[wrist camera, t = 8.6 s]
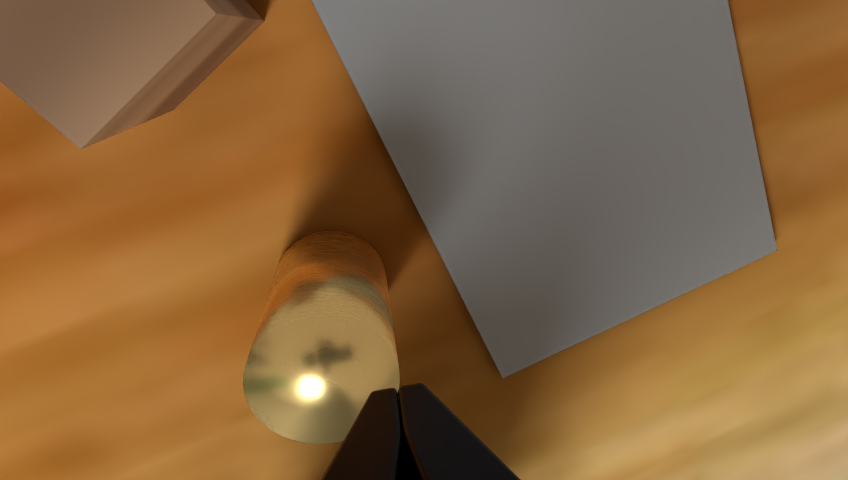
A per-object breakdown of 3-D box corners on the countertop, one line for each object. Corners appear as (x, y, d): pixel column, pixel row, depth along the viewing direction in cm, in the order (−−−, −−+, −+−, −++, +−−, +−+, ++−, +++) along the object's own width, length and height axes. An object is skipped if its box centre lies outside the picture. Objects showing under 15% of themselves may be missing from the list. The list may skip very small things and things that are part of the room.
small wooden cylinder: (404, 300, 20) (424, 405, 14) (311, 345, 20) (294, 465, 14) (354, 211, 18) (355, 290, 13) (254, 261, 18) (211, 359, 13)
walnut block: (264, 20, 16) (215, 13, 10) (173, 110, 16) (80, 149, 11) (155, -102, 14) (29, -187, 9) (59, 1, 15) (-116, -17, 9)
